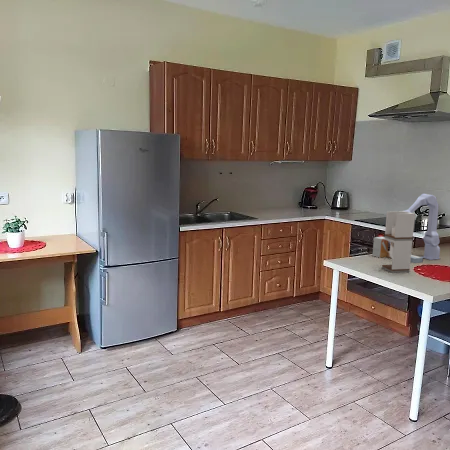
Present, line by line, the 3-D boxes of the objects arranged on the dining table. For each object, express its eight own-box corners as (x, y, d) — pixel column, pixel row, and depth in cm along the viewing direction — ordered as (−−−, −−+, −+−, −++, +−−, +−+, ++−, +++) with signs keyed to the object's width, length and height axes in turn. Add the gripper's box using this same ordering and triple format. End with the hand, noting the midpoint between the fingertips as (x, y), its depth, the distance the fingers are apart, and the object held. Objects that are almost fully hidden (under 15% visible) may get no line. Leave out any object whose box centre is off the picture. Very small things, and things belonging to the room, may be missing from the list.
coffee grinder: (398, 267, 267) (403, 211, 261) (409, 272, 257) (415, 213, 251) (381, 268, 264) (386, 211, 259) (392, 272, 254) (397, 213, 248)
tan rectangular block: (389, 255, 299) (389, 250, 299) (396, 257, 293) (397, 253, 292) (384, 255, 298) (385, 251, 297) (392, 258, 291) (392, 253, 291)
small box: (379, 258, 291) (381, 239, 289) (372, 256, 296) (373, 237, 294) (387, 256, 295) (389, 238, 293) (379, 254, 300) (381, 236, 298)
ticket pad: (407, 257, 294) (407, 253, 293) (422, 262, 282) (422, 257, 281) (399, 258, 291) (399, 253, 291) (414, 263, 279) (414, 258, 279)
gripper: (383, 234, 293) (382, 254, 296) (399, 238, 280) (397, 259, 282) (392, 234, 296) (390, 253, 298) (408, 238, 283) (406, 258, 285)
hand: (394, 256), depth 291 cm, fingers closed
